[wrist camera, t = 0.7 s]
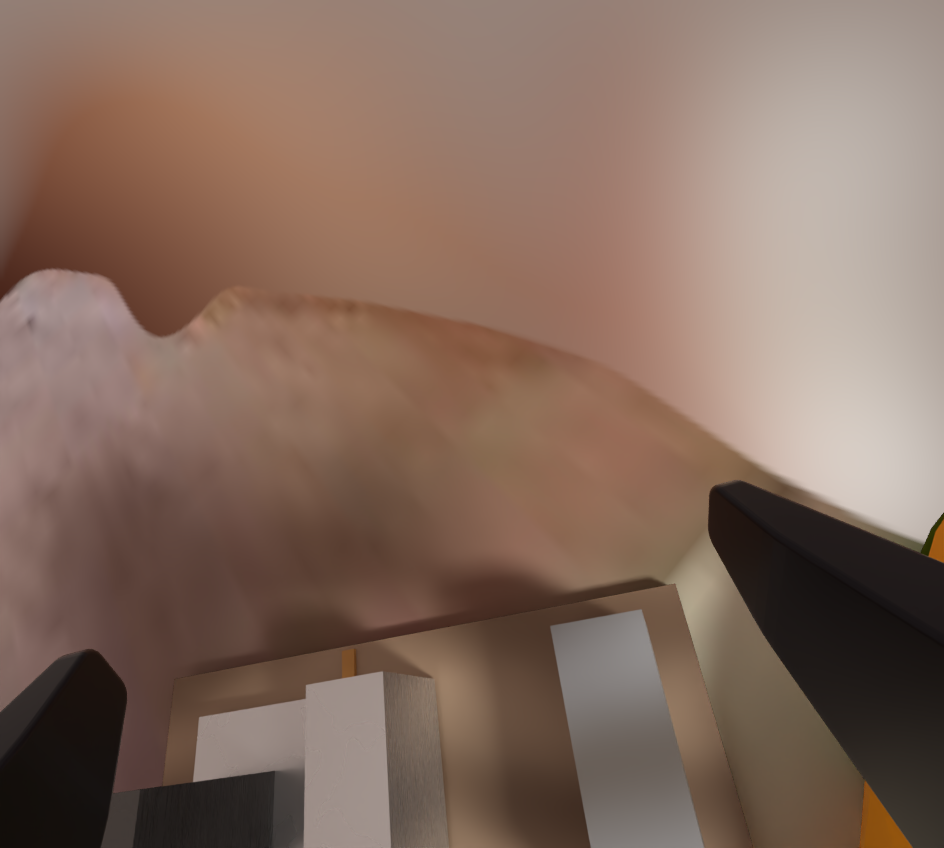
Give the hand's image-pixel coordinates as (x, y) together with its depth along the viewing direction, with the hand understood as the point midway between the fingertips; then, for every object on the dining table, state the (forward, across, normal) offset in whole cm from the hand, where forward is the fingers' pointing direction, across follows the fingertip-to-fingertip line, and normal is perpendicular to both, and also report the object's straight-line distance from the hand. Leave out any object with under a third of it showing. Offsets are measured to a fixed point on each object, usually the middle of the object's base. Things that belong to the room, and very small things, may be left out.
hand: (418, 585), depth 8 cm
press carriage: (+7, +8, +18) cm, 21 cm away
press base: (+7, +4, +18) cm, 20 cm away
